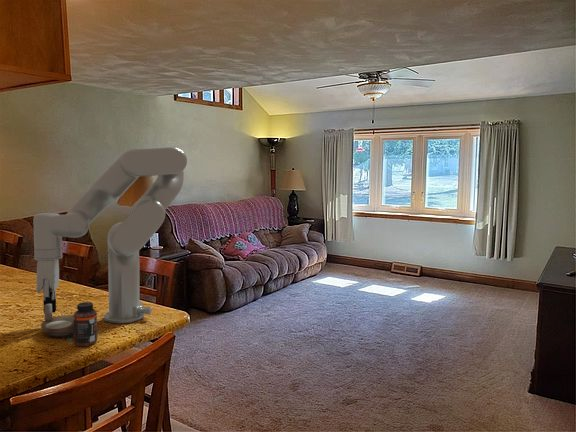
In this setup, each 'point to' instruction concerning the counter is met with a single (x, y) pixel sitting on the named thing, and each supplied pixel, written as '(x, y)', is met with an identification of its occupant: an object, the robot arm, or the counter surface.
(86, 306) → the supplement bottle
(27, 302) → the counter surface
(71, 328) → the turntable
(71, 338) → the turntable base
